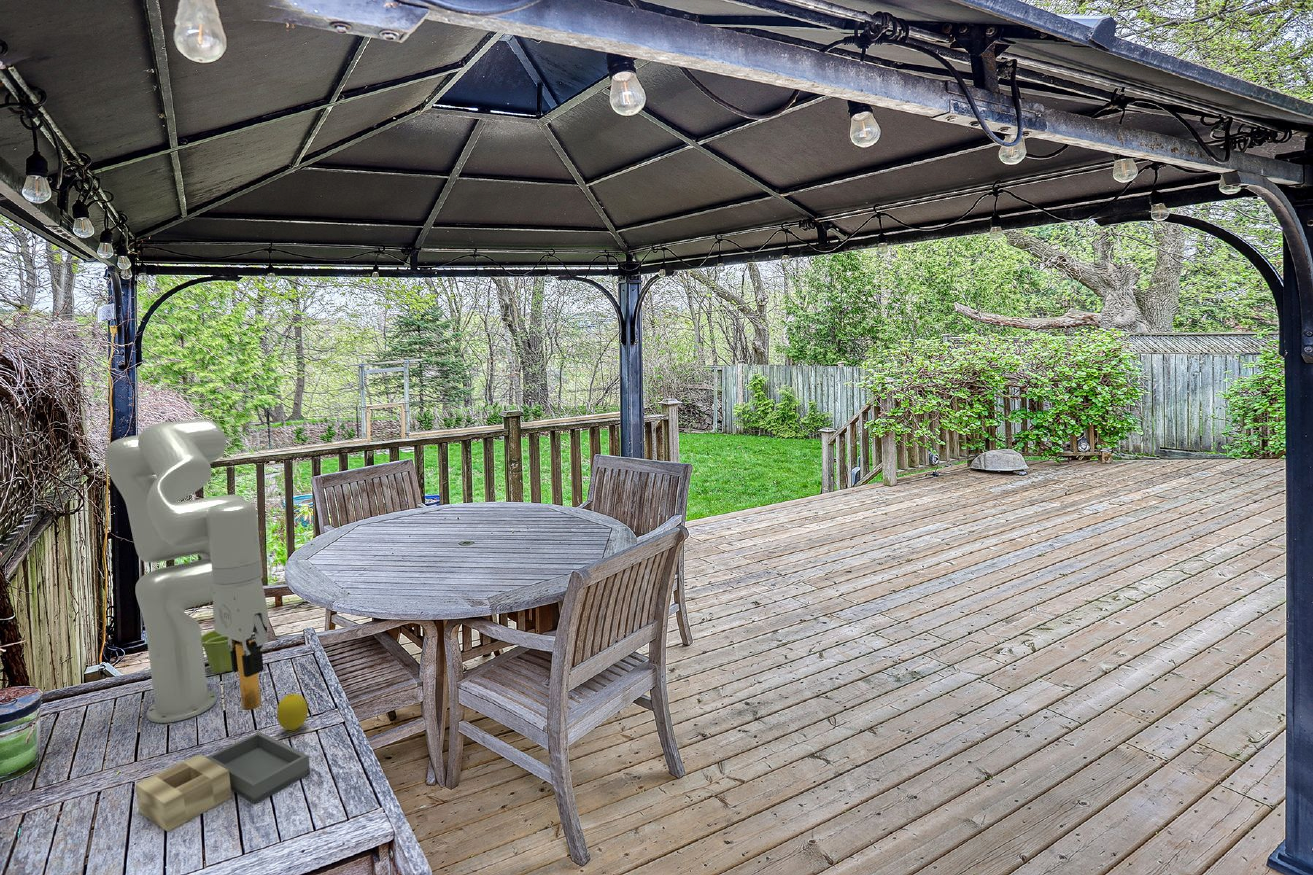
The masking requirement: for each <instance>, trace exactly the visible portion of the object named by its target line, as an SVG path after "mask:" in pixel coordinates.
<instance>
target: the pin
mask: <svg viewBox="0 0 1313 875" xmlns="http://www.w3.org/2000/svg"><path fill="white" fill-rule="evenodd" d="M253 641H255V639H253V640H250V641H249V645H250V644H251V642H253ZM235 646H236V655H237V665H238V672H237V673H238V674H237V675H238V682H239V692H240V699H241V700H240V701H241V709H242V710H243V711H251V710H255V709H257V708H259V707H261V705H262V699H261V698H262V696H261V689H260V688H261V687H260V679H259V673H257V674H254V675H252V676H249V677H245V676H244V672H243V663H242V655H244V650H243V644H242V642H237V643H236V644H235Z"/></svg>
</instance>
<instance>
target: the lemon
mask: <svg viewBox="0 0 1313 875" xmlns="http://www.w3.org/2000/svg"><path fill="white" fill-rule="evenodd" d="M308 708H309V707H308V703H307V702H306V699H305V698H304V697H303V696H302V695H300V694H298V693H292V692H291V693H288V694H287V695H285V696H284V697H283V698H282V699H281V700H280V701H279V703H278V706H277V709H276V710H277V711H276V717H277V718H276V719H277V721H278V724H279V725H280V726H281V727H282V728H283V729H285V730H289V731H292V732H295V731H296V730H298V728H300V727H302V726H303V724H304V723H305V721H306V720H307V718H308V714H309V712H308V711H309V710H308Z"/></svg>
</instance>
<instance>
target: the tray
mask: <svg viewBox="0 0 1313 875" xmlns="http://www.w3.org/2000/svg"><path fill="white" fill-rule="evenodd" d="M206 758H207V759H209V760H211V761H213V762H214V763H216V764H218V765H220V766H222V767H223V768H225V769H227V770H229V776H230V786H231V792H234V793H235V794H237V795H238V796H240V797H242V799H243V798H244V799H245V800H247V801H249V802H250V803H251V804H253V805H257V804H258V803H260V802H262V801H264V800H265V799H267V798H269V797H270V796H273V795H274V794H276V793H278V792H280V791H281V790H283V789H285V788H286V787H289V786H290V785H292V784H294V783H296V782H297V781H300V779H302V778H304V777H306V776H308V775H309V774H311V769H310V768H311V767H310V760H309V755H308V754H306V753H304V752H303V751H300V750H298V749H296V748H294V747H292V746H290V745H287V744H286V743H284V742H281V741H279V740H277V739H276V738H273V737H271V736H269V735H267V734H265V733H263V732H261V731H258V732H256V733H254V734H251V735H249V736H248V737H245V738H244V739H241V740H239V741H237V742H235V743H232V744H231V745H229V746H226V747H225V748H223V749H220V750H219V751H217V752H214V753H211V754H210V755H208V756H206Z"/></svg>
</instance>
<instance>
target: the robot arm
mask: <svg viewBox="0 0 1313 875" xmlns="http://www.w3.org/2000/svg"><path fill="white" fill-rule="evenodd" d="M226 440H227V439H226V435H225V433H224V431H223V429H222V428H221V426H220V425H219V424H218V423H216V422H215V421H213V420H211V419H203V418H201V419H199V418H198V419H191V420H177V421H166V422H158V423H155V424H152V425H149V426H148V427H146V428H145V429H143V430H142V431H141V433H140V434H138V435H131V436H126V437H122V438H117V439H116V440H114V441H112V442H110V443H109V444H108V445H107V447H106V449H105V452H104V453H105V454H104V458H105V459H104V460H105V466H106V469H107V472H108V474H109V477H110V479H111V480H112V482H113V484H114V485H115V487H116V488H117V490H118V491H119V493H120V494H121V496H122V498H123V500H124V503H125V505H126V511H127V514H128V520H129V525H130V529H131V533H132V539H133V544H134V548H135V551H136V554H137V556H138V558H139V559H140V560H141V561H142V562H145V563H148V564H149V563H160V562H166V561H167V562H168V561H171V560H176V559H180V558H185V557H189V556H195V555H198V556H199V557H200V558H201V559H199V560H193V561H189V562H186V563H185V562H184V563H178V564H175V565H174V564H173V565H170V566H166V567H162V568H158V569H155V570H152V571H149V572H147V573H145V574H143V575H142V576H141V577H140V578H139V579H138V580H137V582H136V584H135V588H134V589H135V596H136V600H137V603H138V606H139V609H140V612H141V617H142V620H143V625H144V628H145V635H146V642H147V649H148V657H149V658H148V659H149V665H150V666H149V667H150V675H151V682H152V690H153V698H154V699H153V700H154V703H153V704H152V705H151V706H150V707H149V708H148V709H147V711H146V718H147V719H148V720H149V721H150V722H153V723H161V724H165V723H167V724H169V723H175V722H180V721H183V720H187V719H190V718H193V717H195V716H199V715H201V714H203V713H204V712H206V711H208V710H210V709H211V708H212V707H213V706H214V705H215V704H216V703H217V701H218V700H217V699H218V698H217V696H218V695H217V693H216V691H214V690H212V689H211V690H210V689H208V683H207V682H208V681H207V675H206V674H207V673H206V667H205V666H206V664H205V656H204V647H203V645H202V630H201V626H200V624H199V621H197V620H196V619H195V618H194V617H193V616H191V615H189V613H186V612H185V610H187V609H190V608H192V607H196V606H200V605H203V604H207V603H211V602H212V612H213V613H212V617H213V627H214V628H213V629H214V630H215V631H216V632H217V633H218V634H220V635H223V636H225V637H226V638H227V639H228V647H229V649H230V650H232V651H230V653H231V662H232V672H233V673H238V665H237V655H236V646H235V644H236V643H237V642H242V644H243V650H244V655H242V663H243V672H244V676H245V677H249V676H252V675H254V674H257V673H258V674H259V673H261V672H263V671H264V659H263V658H264V657H263V650H264V645H265V644H267V643H268V642H269V637H268V635H267V633H268V632H269V629H270V620H269V611H268V604H267V600H266V593H265V589H264V585H263V581H262V578H264V574H263V573H264V572H263V565H262V555H261V545H260V535H259V523H258V513H257V509H256V506H255V505H254V503H252V502H251V501H250V502H249V501H247V500H246V499H245V497H243V496H241V495H239V494H226V495H225V494H224V495H219V496H214V497H213V496H212V497H204V498H199V499H193V500H187V501H182V502H179V501H181V500H183V499H185V498H187V497H189V496H190V495H192V494H194V493H196V492H198V491H199V490H200V489H202V488H203V487H204V486H206V484H207V483H208V482H209V480H210V478H211V477H212V476H211V475H212V467H211V464H212V463H214V462H216V461H217V460H219V459H220V458H221V457H222V456H223V455H224V453H225V451H226V448H227V441H226ZM154 475H155V476H156V477H155V476H154ZM253 639H254V640H255V641H253V642H251V644H250V645H249V641H250V640H253Z"/></svg>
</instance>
